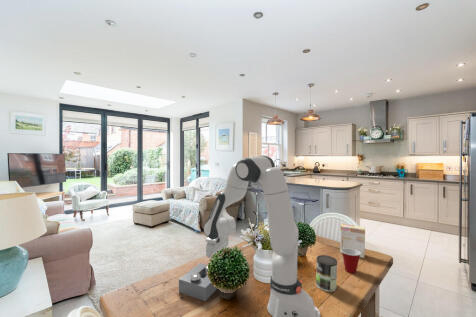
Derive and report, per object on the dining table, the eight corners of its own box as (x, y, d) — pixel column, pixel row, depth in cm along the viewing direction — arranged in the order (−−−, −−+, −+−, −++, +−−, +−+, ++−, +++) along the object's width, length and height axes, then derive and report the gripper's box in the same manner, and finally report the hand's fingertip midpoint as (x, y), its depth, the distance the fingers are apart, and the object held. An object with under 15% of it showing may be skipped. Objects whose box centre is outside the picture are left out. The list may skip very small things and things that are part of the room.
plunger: (202, 287, 110) (202, 274, 110) (196, 292, 106) (196, 279, 106) (194, 284, 112) (194, 272, 112) (188, 289, 108) (188, 276, 108)
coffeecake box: (364, 254, 154) (365, 227, 154) (364, 258, 148) (364, 229, 148) (341, 249, 162) (341, 223, 162) (339, 253, 156) (340, 225, 156)
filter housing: (199, 274, 126) (200, 263, 126) (223, 281, 119) (224, 269, 119) (178, 292, 110) (178, 279, 110) (205, 301, 103) (205, 287, 103)
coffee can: (320, 291, 112) (320, 264, 111) (313, 280, 122) (313, 254, 122) (340, 292, 112) (341, 264, 112) (331, 280, 122) (332, 255, 122)
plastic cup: (351, 265, 139) (352, 246, 139) (364, 274, 128) (365, 254, 128) (336, 266, 137) (336, 247, 137) (348, 276, 126) (349, 255, 126)
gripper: (222, 229, 139) (222, 250, 140) (204, 240, 121) (203, 265, 121) (231, 230, 137) (231, 252, 137) (214, 242, 118) (213, 268, 118)
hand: (218, 259), depth 129 cm, fingers open, 5 cm apart
